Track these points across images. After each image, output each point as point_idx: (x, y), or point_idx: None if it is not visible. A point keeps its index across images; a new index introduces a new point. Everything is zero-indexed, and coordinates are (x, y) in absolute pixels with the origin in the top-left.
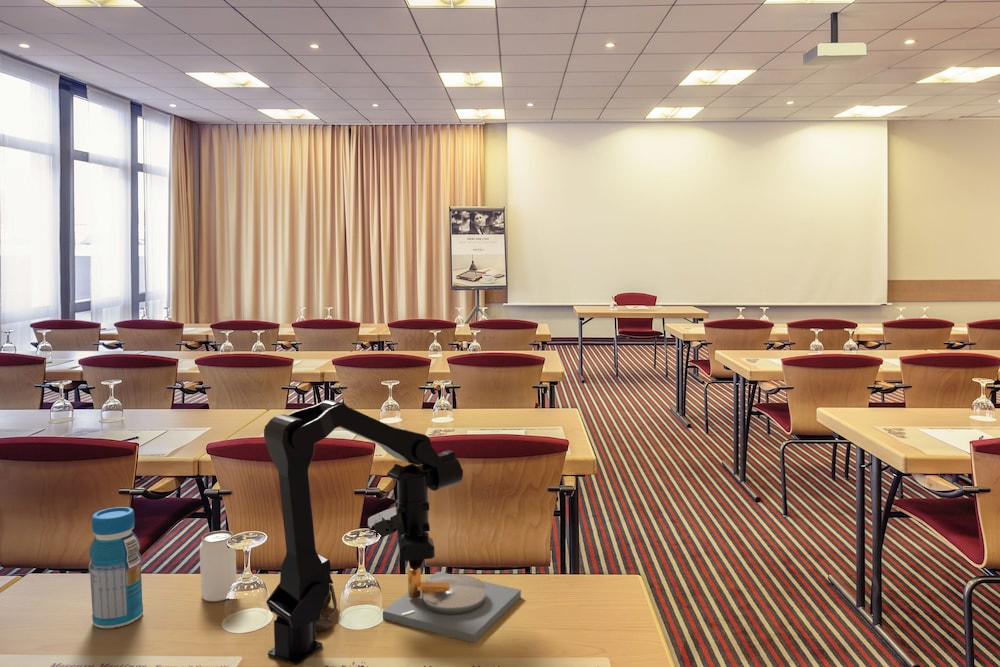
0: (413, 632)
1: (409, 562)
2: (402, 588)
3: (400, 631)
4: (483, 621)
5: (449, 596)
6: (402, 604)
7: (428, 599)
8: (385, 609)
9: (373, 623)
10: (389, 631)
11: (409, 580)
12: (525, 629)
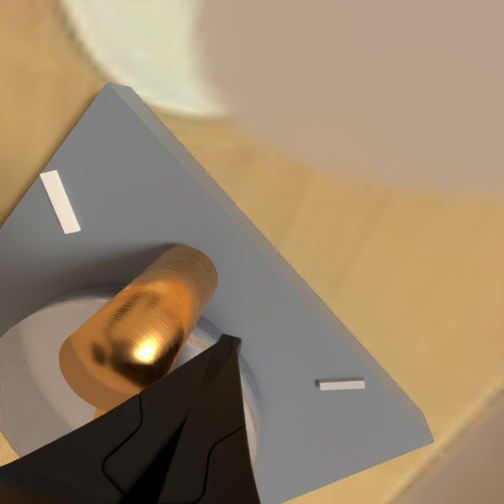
0: (5, 190)
1: (147, 387)
2: (410, 257)
3: (16, 143)
4: None
5: (42, 392)
6: (152, 201)
7: (39, 312)
8: (119, 102)
9: (98, 29)
10: (19, 95)
11: (121, 291)
12: (4, 458)
